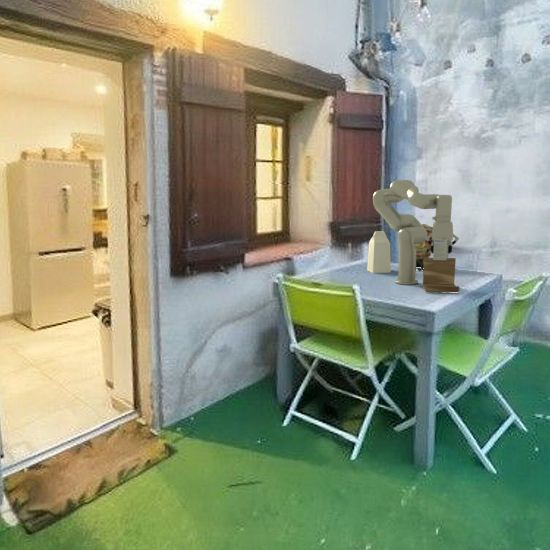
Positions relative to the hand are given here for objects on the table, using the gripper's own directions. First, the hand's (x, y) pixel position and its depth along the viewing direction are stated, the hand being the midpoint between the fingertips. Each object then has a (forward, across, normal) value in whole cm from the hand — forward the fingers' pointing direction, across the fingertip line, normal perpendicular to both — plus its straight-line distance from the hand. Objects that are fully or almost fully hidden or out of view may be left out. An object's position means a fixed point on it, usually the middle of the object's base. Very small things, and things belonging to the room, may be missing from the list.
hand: (441, 253), depth 243 cm
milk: (+20, -31, +54) cm, 65 cm away
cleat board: (+20, 0, 0) cm, 20 cm away
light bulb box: (+3, 0, 0) cm, 3 cm away
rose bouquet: (+20, -5, +67) cm, 70 cm away
